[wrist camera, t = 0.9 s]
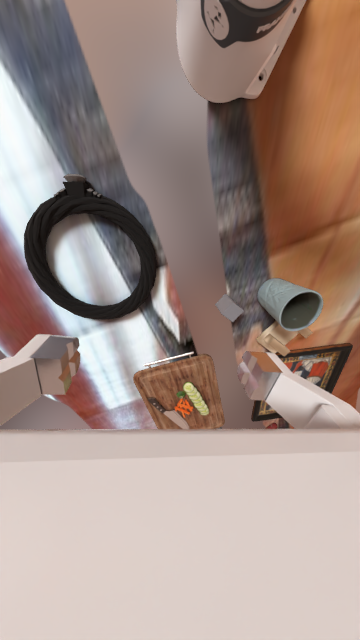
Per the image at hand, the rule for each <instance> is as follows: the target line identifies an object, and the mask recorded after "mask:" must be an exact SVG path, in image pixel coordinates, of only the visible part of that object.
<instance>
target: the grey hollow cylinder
mask: <svg viewBox="0 0 360 640" xmlns="http://www.w3.org/2000/svg"><path fill="white" fill-rule="evenodd" d="M257 297H258V301H259V303H260V304H261V305H262V306H263V307H264V308H265V309H266V311H267V312H269V314H270V315H272V317H273V318H274V319H275V320H276V321H277V322H278V323H279V324H280V326H281V327H282V328H283V329H285V330H288V331H299V330H302V329H304V328H306V327H308V326H310V325H311V324H312V323H313V322H314V321H315V320H316V319H317V318H318V316H319V315H320V313H321V311H322V308H323V299H322V296H321V295H320V294H319V293H318V292H316V291H313V290H310V289H307V288H304V287H301V286H298V285H295V284H293V283H290V282H288V281H285V280H283V279H280V278H273V279H270V280H268V281H266V282H265V283H264V284H263V285H262V286H261V287H260V289H259V291H258V295H257Z"/></svg>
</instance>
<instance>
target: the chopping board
mask: <svg viewBox="0 0 360 640" xmlns="http://www.w3.org/2000/svg"><path fill="white" fill-rule="evenodd" d="M191 354H194V352H193V351H192V352H188V353H185V354H181V355H177V356H173V357H169V358H165V359H161V360H157V361H154V362H150V363H146V364H144V366H149V368H148V369H145V370H141V371H138V372H137V373H136V374H134V377H133V380H134V383H135V385H136V387H137V389H138V391H139V393H140V395H141V397H142V399H143V401H144V403H145V405H146V407H147V409H148V410H149V412H150V414H151V416H152V418H153V420H154V422H155V424H156V426H157V428H158V429H215V428H219V427H221V426H223V425H224V423H225V420H224V415H223V409H222V405H221V399H220V394H219V389H218V384H217V379H216V373H215V368H214V363H213V360H212V358H211V356H210V355H208V354H198V356H195V357H191ZM187 355H189V357H190V358H187V359H183V360H180V361H176V362H172V363H168V364H164V365H160V366H156V367H152V368H151V367H150V365H152V364H156V363H160V362H163V361H167V360H171V359H175V358H179V357H183V356H187Z"/></svg>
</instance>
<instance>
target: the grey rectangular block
mask: <svg viewBox="0 0 360 640" xmlns="http://www.w3.org/2000/svg"><path fill="white" fill-rule="evenodd" d="M215 305H216V306H217V308H218V309H219V311H220V312H221V314H222V315H223V316H225V317H226V318H228V319H229V320H230V321H232V322H233V321H234V320H235V319H236V318H237V317H238V316H239V315H240V314H241V313H242V312H243V311H244V310H243V309H242V308H241V307H240V306H239V305H238V304H237V303H236V302H235V301H234V300H233V299H231V298H230V297H229V296H228V295H226V294H225V295H224V296H223V297H222V298H221V299H220V300H219V301H218V302H217V303H216V304H215Z"/></svg>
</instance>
